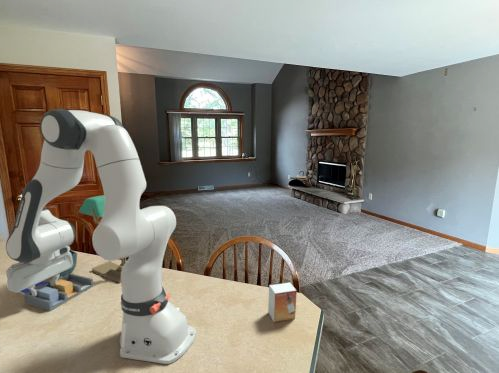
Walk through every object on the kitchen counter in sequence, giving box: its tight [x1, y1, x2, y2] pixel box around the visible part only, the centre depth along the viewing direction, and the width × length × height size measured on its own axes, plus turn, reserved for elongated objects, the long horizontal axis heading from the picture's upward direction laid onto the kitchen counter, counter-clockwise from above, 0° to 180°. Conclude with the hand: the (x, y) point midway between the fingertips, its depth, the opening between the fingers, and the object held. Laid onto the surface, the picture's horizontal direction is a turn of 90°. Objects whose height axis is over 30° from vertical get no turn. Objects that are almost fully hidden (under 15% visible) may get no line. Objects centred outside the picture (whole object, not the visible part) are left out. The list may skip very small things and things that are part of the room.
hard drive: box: [19, 280, 48, 295], centre depth 106 cm, size 2×8×12 cm
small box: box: [267, 282, 298, 323], centre depth 91 cm, size 8×6×10 cm
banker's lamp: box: [78, 194, 127, 284], centre depth 117 cm, size 16×21×35 cm
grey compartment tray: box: [23, 272, 94, 312], centre depth 102 cm, size 13×17×3 cm
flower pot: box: [59, 248, 78, 277], centre depth 118 cm, size 9×9×9 cm
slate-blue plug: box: [34, 285, 59, 303], centre depth 97 cm, size 9×3×4 cm, turn 70°
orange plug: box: [47, 277, 73, 295], centre depth 102 cm, size 9×3×4 cm, turn 70°
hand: (45, 290), depth 97 cm, fingers open, 5 cm apart
